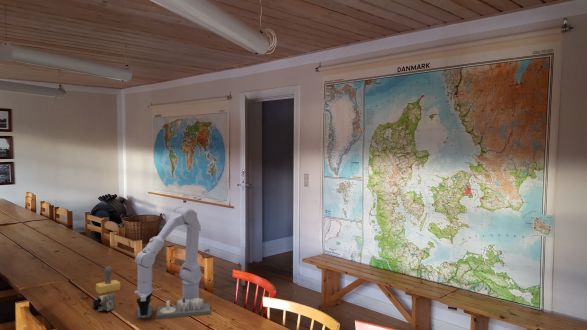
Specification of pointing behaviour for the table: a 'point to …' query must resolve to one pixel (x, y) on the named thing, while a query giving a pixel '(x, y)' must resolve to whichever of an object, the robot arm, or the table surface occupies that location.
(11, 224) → the table surface
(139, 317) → the slate gear
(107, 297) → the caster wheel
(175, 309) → the gear board
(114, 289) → the rubber stamp
